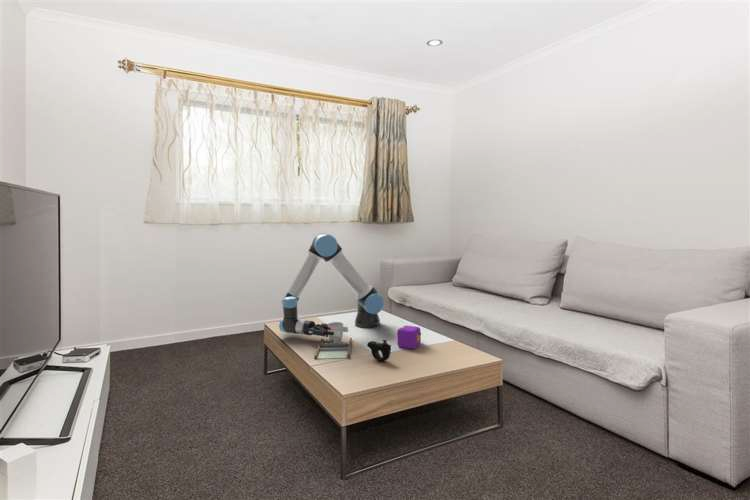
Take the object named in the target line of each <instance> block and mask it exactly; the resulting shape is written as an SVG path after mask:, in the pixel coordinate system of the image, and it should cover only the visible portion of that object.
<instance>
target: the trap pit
mask: <svg viewBox="0 0 750 500" xmlns="http://www.w3.org/2000/svg"><path fill="white" fill-rule="evenodd" d="M348 345H349V342H343V343H342V342H341V343H331V342H330V343H323V344H321V348H320V351H348Z"/></svg>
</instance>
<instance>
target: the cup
mask: <svg viewBox="0 0 750 500" xmlns="http://www.w3.org/2000/svg"><path fill="white" fill-rule="evenodd" d="M327 324H328V330H335V331H340V334H341V336H340V337H338V336H329V335H328V339H329V342H330V343H342V340H343V334H344V332H343V326H344V323H343V322H341V321H337V322H336V321H334V322H333V321H332V322H329V323H327Z"/></svg>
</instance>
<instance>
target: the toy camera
mask: <svg viewBox="0 0 750 500" xmlns="http://www.w3.org/2000/svg"><path fill="white" fill-rule="evenodd" d="M396 334H397V337H396V338H397V339H396V340H397V346H398V347H399V348H403V349H410V350H414V349H416V348H417V347H418V346H420V345H421V338H422V333H421V328H420V326H415V325H404V326H401V327H400V328H398V329H397V333H396Z"/></svg>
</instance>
